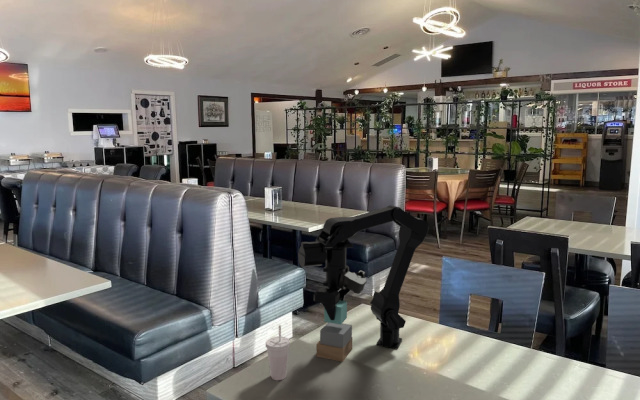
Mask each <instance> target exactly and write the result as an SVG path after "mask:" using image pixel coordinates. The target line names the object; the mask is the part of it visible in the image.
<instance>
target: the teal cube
mask: <svg viewBox="0 0 640 400" xmlns="http://www.w3.org/2000/svg"><path fill="white" fill-rule="evenodd" d="M323 308H324V307H323ZM323 313H324V314H323V316H324V317H323V319H324V320H323V322H324V323H334V324H340V325H341V324H342V323H343V324H344V322H345V321H346V320H347V318H348V301H347V300H344V301H341V300H340V301H339V302H338V303H337V307H336V314H335V319H334V320H330V318H329V316H328V314H327V312H326V310H325V308H324V309H323Z"/></svg>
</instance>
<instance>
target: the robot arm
mask: <svg viewBox="0 0 640 400" xmlns="http://www.w3.org/2000/svg"><path fill="white" fill-rule="evenodd" d="M391 222H393V223H394V224H396V225H397V226H399V231H398V238H399V245H398V248H397V250H396V253H395V254H394V258H393V261H392V263H391V266H390V270H389V272H388V274H387V277H386V281H385V283H384V285H383V288H382V289H381V290H380V291H379V292H378V291H376V290H375V291H374V292H373V296H372V299H371V301H370V302H369V303H370V310H371V312H372V315H374V316H375V318H376V320H378V321H379V322H380V324H379V339H378V340H377V342H376V345H377V346H380V347H385V348H392V349H398V348H399V347H400V345H401V344H402V342H403V338H402V337H400V329H403V328H404V327H405V324H406V319H404V317H402V316H401V315H400V314H399V312H400V307H401V304H400V302H401V301H400V293H401V290H402V286H403V284H404V282H405V279H406V276H407V274H408V273H407V272H408V271H409V267H410V265H411V262H412V260H413V257H414V254H415V251H416V249H417V248H418V247H419V246H420V245H421V244H423V242H424V241H425V238H426V237H427V235H428V233H429V230H430V227H429V225H428V222H427V221H426V220H424V219H422V218H419V217H416V216H413V215H411V214H410V213H409V212H406V211H405V210H403V209H402V208H401V207H399V206H396V205H393V204H391V205H388V206H386V207H382V208H380V209H375V210H373V211H368V212H364V213H361V214H357V215H354V216H337V217H335V216H334V217H329V218H328V219H326V220H325V221H324V223H323V227H322V230H320V233H319V234H318V235H317V237H316V239H315V241H302V242H300V247H299V249H298V252H297V254H298V255H297V256H298V257H297V258H298V263H299V265H300V267H301V268H309V267H319V266H323V265H324V264H325V266H324V267H323V269H322V271H323V272H324V273H325V280H324V281H323V284H322V286H323V287H320V288H319V289H318V290H316V292H314V293H313V301H314V302H315V303H321V305H322V306H323V308H325V310H326V312H327V314H328V316H329V318H330V320H334V319H335V314H336V307H337V303H338V302H339V301H340V300H341V301H345V299H346V296H347V294H348V293H350V292H351V291H352V292H353V293H354V294H356V295H359V294H360V293H361V292H362V291H364V288H365V286H366V284H367V281H368V280H367V277H366V271H363V270H362V269H361V270H359V271H358V272H351V271H350V267H349V265H347V249H350V248H351V249H352V248H354V244H353V243H351V241H350V240H349V239H350V238H352V237H354V236H355V235H356V234H357V233H359V232H361V231H363V230H367V229H368V230H369V229H371V228H375V227H377V226H380V225H384V224H388V223H391Z"/></svg>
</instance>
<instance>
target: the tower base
mask: <svg viewBox="0 0 640 400" xmlns="http://www.w3.org/2000/svg"><path fill="white" fill-rule="evenodd" d="M352 350H353V338H352V339H351V340H350V341H349V342H348V343H347V344H346V346H345V347H344V348H339V347H334V346H329V345H324V344H320V340H319V341H318V342H317V343H316V357H318V358H322V357H323V359H327V360H328V359H329V360H333V361H338V362H343V363H344V361H345V360H346V359H347V357H348V356H349V354H350V353H351V352H352Z"/></svg>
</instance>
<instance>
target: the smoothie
mask: <svg viewBox="0 0 640 400" xmlns="http://www.w3.org/2000/svg"><path fill="white" fill-rule="evenodd" d="M290 346H291V340H290V339H289V338H288V337H286V336H282V325H280V324H279V325H278V336H277V335H276V336H272V337H270V338H268V339H266V341H265V348H266V350H267V357H268V362H269V363H268V364H269V370H270V376H271V379H272V380H275V381H281V380H284V379H285V378H286V376H287V366H288V357H289V348H290Z"/></svg>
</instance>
